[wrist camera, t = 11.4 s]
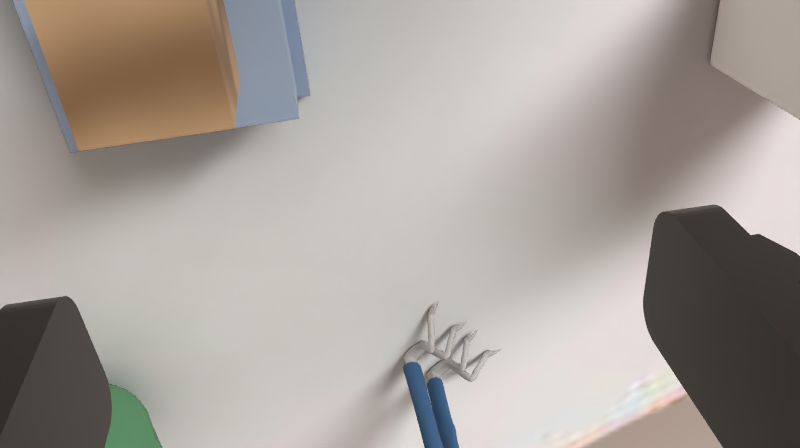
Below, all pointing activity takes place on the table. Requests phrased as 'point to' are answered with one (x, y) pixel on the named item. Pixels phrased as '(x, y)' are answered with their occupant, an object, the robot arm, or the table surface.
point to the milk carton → (761, 48)
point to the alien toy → (129, 422)
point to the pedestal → (255, 54)
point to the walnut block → (139, 67)
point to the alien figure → (437, 386)
